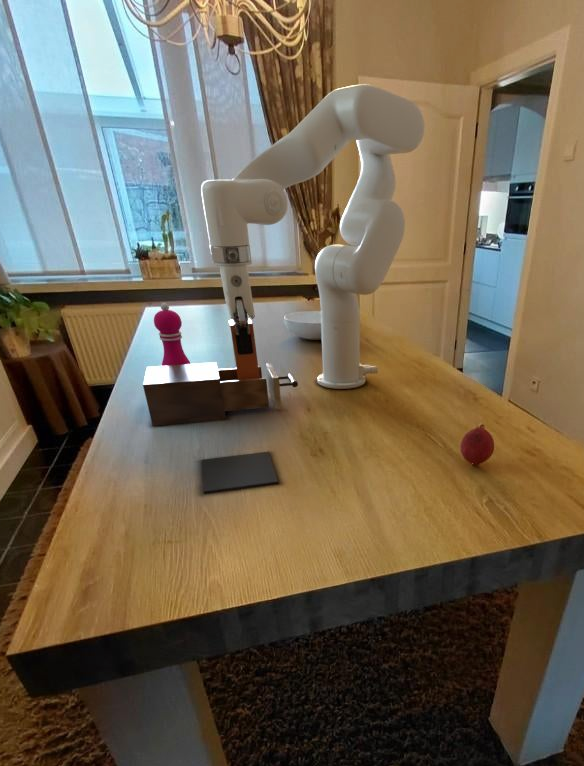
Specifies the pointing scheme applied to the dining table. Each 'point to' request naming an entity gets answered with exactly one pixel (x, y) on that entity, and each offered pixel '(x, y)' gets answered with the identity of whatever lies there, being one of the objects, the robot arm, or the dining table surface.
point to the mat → (238, 472)
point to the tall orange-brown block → (245, 356)
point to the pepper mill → (170, 336)
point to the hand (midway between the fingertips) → (244, 349)
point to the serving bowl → (305, 324)
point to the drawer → (252, 389)
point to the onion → (477, 445)
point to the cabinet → (183, 393)
